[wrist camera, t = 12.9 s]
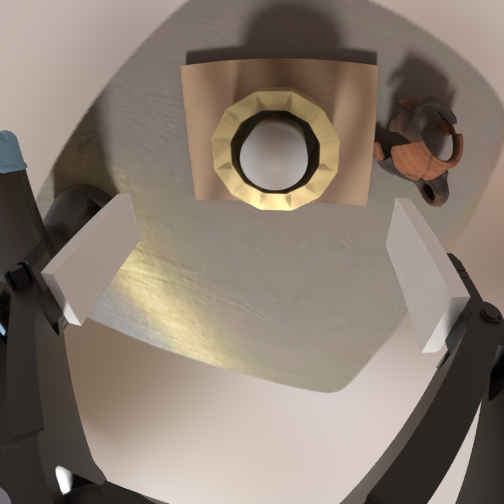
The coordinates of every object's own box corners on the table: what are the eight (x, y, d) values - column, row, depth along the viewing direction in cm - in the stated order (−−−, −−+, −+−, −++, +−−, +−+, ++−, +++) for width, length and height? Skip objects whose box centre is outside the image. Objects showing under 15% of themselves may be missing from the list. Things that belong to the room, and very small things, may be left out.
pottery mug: (349, 125, 29) (389, 104, 21) (403, 99, 29) (445, 80, 21) (396, 219, 31) (443, 225, 23) (443, 184, 31) (489, 183, 23)
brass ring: (231, 182, 30) (218, 208, 26) (224, 88, 25) (207, 94, 20) (327, 185, 29) (333, 212, 24) (331, 89, 23) (341, 94, 18)
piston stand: (199, 194, 36) (166, 244, 27) (185, 65, 26) (136, 69, 18) (363, 199, 33) (386, 253, 24) (374, 65, 24) (412, 66, 15)
